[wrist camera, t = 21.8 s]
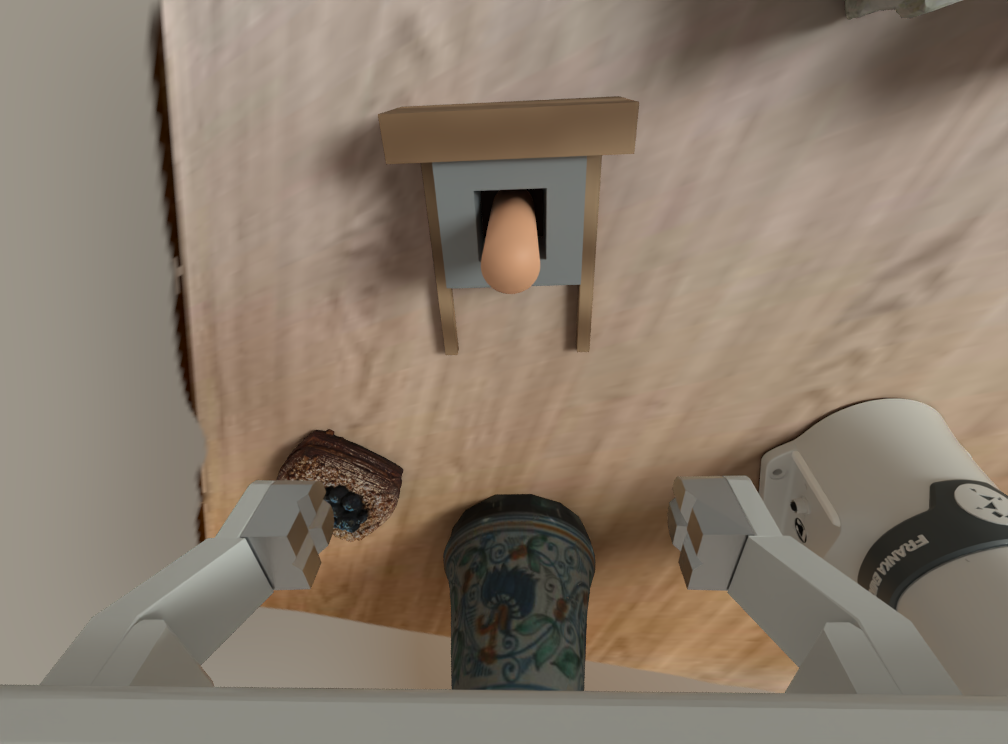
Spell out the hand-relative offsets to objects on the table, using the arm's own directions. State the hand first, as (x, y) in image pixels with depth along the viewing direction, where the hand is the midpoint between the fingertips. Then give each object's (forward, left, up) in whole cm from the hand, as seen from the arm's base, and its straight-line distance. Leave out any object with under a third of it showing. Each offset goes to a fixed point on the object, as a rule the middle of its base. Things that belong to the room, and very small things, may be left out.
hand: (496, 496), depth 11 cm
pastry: (-27, +18, -28) cm, 43 cm away
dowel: (0, 0, -27) cm, 27 cm away
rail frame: (-2, 0, -27) cm, 27 cm away
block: (0, 0, -27) cm, 27 cm away
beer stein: (-39, 0, -27) cm, 47 cm away
